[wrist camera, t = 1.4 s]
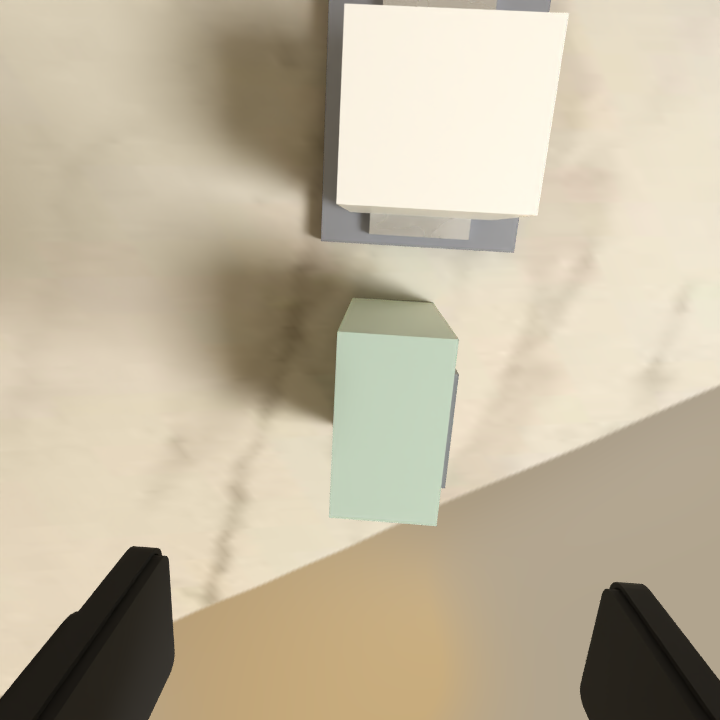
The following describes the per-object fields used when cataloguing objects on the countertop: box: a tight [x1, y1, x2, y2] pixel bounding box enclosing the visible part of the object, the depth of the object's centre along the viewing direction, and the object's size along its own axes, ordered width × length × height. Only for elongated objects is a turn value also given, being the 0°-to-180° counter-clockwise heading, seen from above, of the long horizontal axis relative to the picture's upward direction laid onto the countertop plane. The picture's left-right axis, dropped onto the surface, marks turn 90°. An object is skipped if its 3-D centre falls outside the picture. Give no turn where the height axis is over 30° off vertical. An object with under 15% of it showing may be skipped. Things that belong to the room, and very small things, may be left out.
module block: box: [329, 298, 459, 526], centre depth 22 cm, size 5×8×9 cm, turn 177°
